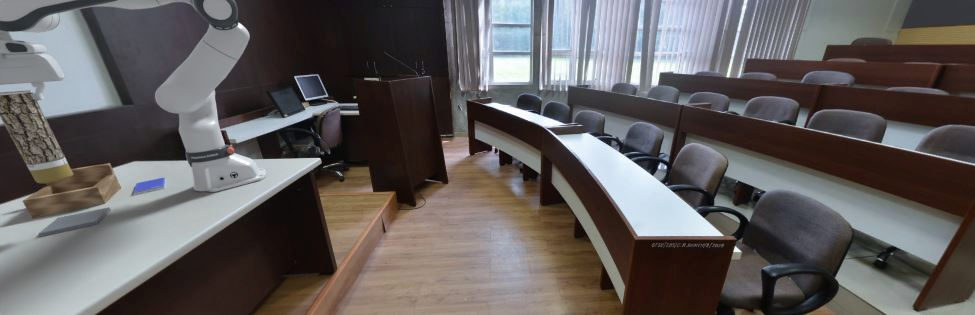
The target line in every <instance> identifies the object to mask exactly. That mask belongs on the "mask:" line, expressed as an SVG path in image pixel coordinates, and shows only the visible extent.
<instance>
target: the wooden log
mask: <svg viewBox="0 0 975 315" xmlns="http://www.w3.org/2000/svg"><path fill="white" fill-rule="evenodd" d="M30 94H34V92H33V91H32V90H31V89H30V90H29V89H28V90H27V89H26V90H12V91H2V92H1V91H0V120H1V121H2V123H3V125H4V126H5V128H6V130H7V132H8V133H9V136H10V137H11V139H12V141H13V143H14V145H15V146H16V149H17V150H18V152H19V154H20V156H21V158H22V159H23V161H24V163H25V166H26V167H27V169H28V170H29V172H30V174H31V175H32V177H33V178H32V179H34V182H36V183H37V184H46V183H50V182H56V181H60V180H64V179H67V178H70V177H71V176H73V172H72V170H71V169H72V168H71V167H70V164H69V163H68V160H67V158H66V157H65V156H66V155H65V154H64V152H63V151H62V148H61V146H60V144H59V142H58V140H57V138H56V136H55V134H54V132H53V130H52V128H51V126H50V124H49V123H48V120H47V118H46V116H45V114H44V112H43V110H42V108H41V106H40V104H39V103H38V100H35V101H34V100H33V99H32V98H33V97H31V95H30Z"/></svg>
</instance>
